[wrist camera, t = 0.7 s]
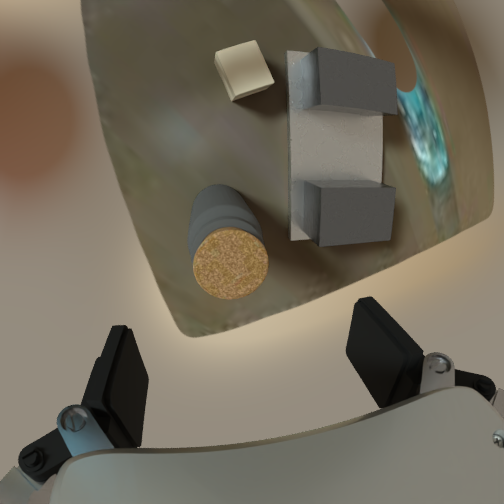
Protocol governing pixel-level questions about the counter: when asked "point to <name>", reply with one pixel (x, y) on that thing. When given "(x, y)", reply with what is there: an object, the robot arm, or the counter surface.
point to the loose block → (243, 70)
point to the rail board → (338, 146)
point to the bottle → (226, 244)
